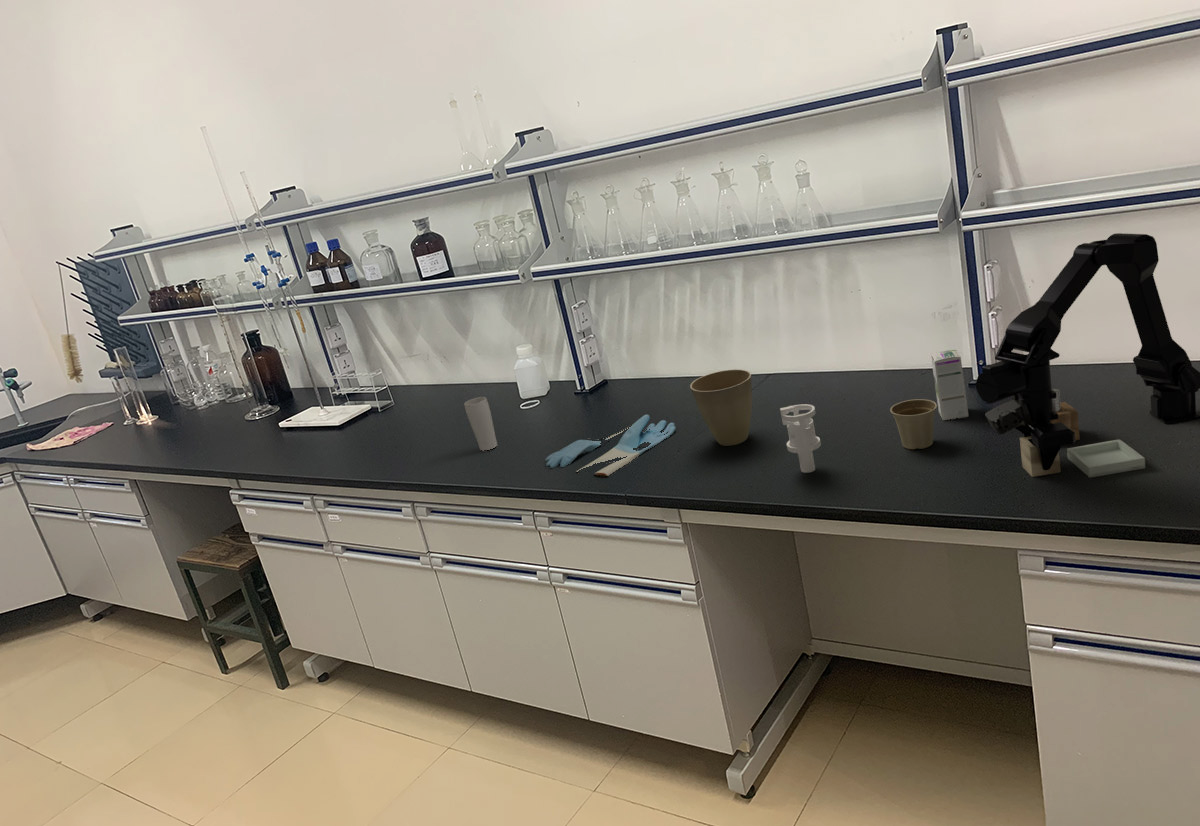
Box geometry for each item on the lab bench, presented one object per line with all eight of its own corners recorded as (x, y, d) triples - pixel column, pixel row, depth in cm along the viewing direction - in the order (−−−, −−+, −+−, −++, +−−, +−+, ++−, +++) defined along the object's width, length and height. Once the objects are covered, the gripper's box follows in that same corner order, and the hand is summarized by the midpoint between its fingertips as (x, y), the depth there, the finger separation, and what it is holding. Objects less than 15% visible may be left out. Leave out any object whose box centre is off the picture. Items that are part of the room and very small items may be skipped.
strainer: (789, 467, 191) (777, 403, 187) (820, 460, 190) (810, 396, 186) (794, 479, 184) (783, 414, 180) (828, 472, 184) (817, 406, 179)
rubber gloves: (533, 469, 230) (527, 447, 228) (613, 422, 251) (608, 402, 249) (608, 480, 210) (602, 455, 208) (687, 428, 232) (683, 406, 230)
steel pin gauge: (1060, 434, 175) (1057, 388, 172) (1064, 437, 173) (1061, 391, 170) (1050, 436, 175) (1046, 390, 172) (1054, 439, 173) (1050, 393, 170)
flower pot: (948, 437, 186) (944, 399, 184) (930, 454, 180) (925, 416, 177) (906, 434, 193) (901, 398, 190) (887, 451, 187) (882, 414, 184)
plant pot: (705, 433, 223) (693, 375, 218) (763, 424, 219) (752, 365, 214) (700, 456, 209) (687, 394, 204) (761, 447, 205) (749, 384, 201)
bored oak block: (1066, 429, 176) (1064, 401, 175) (1079, 439, 171) (1077, 411, 169) (1036, 434, 177) (1033, 407, 176) (1047, 445, 172) (1045, 417, 170)
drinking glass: (504, 443, 255) (491, 395, 250) (492, 452, 249) (478, 404, 244) (485, 444, 258) (471, 397, 253) (473, 453, 252) (459, 406, 248)
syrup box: (969, 417, 194) (962, 355, 189) (941, 421, 195) (934, 360, 191) (964, 408, 199) (957, 348, 194) (937, 412, 200) (929, 353, 196)
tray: (1120, 449, 163) (1119, 439, 163) (1145, 468, 154) (1144, 458, 154) (1067, 458, 165) (1066, 448, 164) (1089, 477, 156) (1088, 467, 155)
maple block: (1049, 461, 165) (1047, 432, 163) (1060, 472, 160) (1058, 441, 158) (1022, 466, 166) (1019, 437, 164) (1032, 476, 161) (1029, 446, 159)
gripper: (972, 380, 168) (980, 453, 173) (1006, 411, 151) (1014, 492, 155) (1032, 369, 166) (1038, 443, 171) (1073, 399, 149) (1079, 481, 153)
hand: (1040, 464), depth 163 cm, fingers closed on maple block, 5 cm apart
